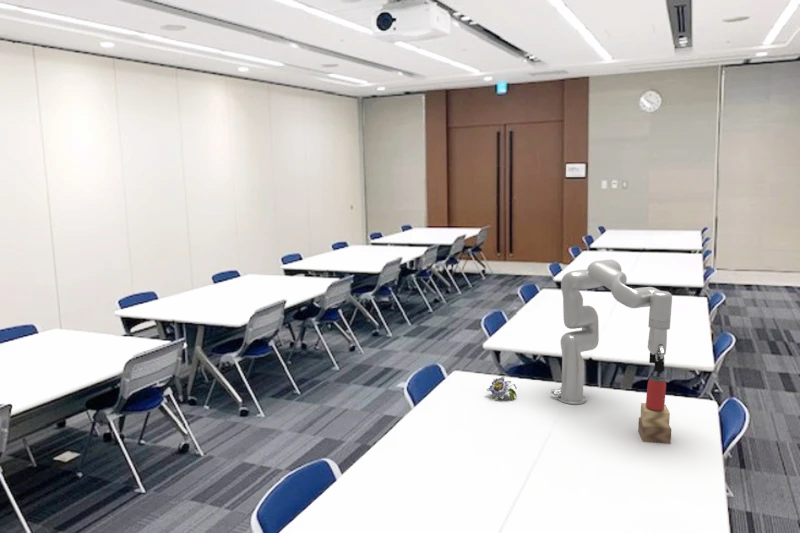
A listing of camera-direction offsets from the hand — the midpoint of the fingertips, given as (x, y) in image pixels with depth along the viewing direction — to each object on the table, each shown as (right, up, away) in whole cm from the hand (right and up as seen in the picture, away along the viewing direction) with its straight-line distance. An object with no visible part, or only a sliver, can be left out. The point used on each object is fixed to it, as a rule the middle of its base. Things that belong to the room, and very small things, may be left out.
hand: (656, 367), depth 238 cm
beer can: (0, -16, +2) cm, 17 cm away
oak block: (+1, -22, +4) cm, 23 cm away
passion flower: (-51, -22, +48) cm, 73 cm away
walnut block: (+1, -28, +4) cm, 29 cm away
